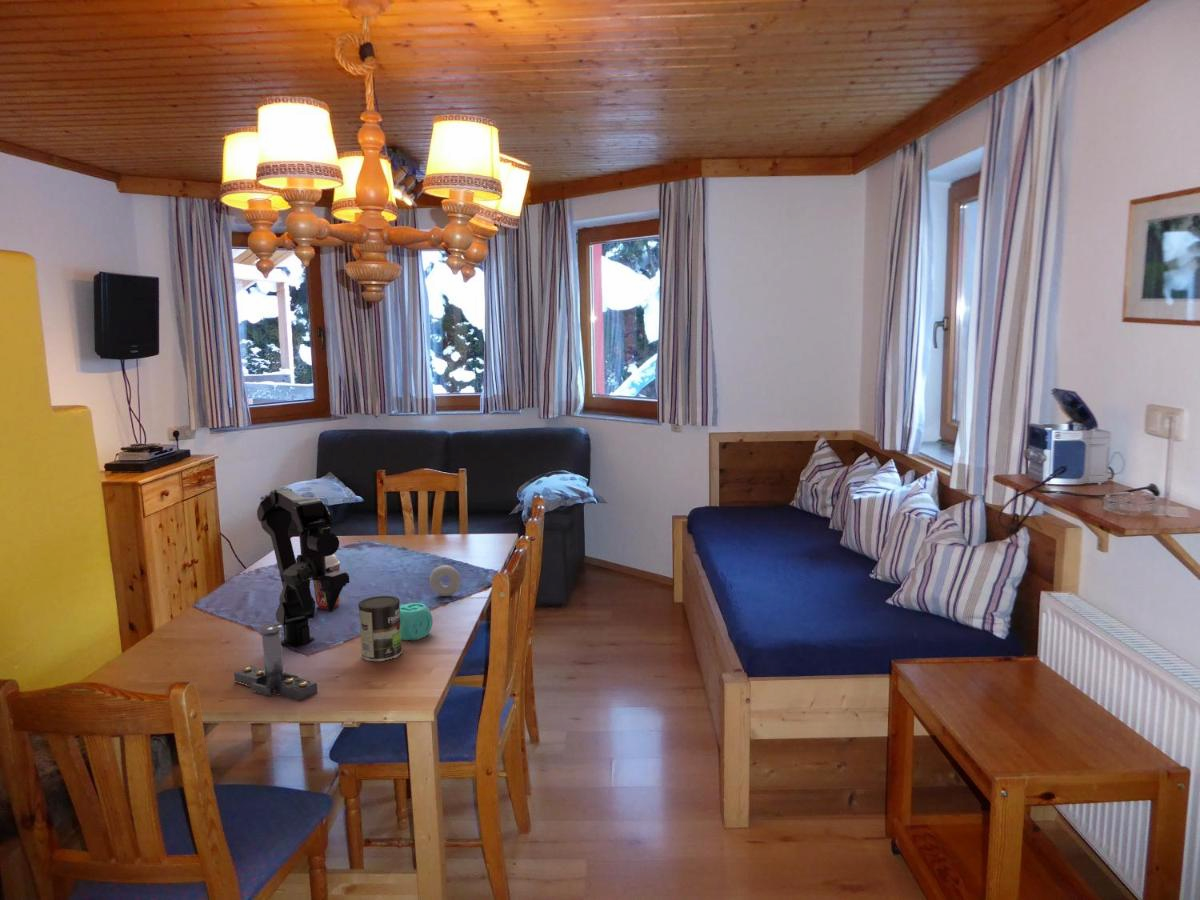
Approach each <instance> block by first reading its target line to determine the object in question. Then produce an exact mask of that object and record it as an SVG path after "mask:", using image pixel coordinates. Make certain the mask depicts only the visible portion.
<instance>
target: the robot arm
mask: <svg viewBox="0 0 1200 900" xmlns="http://www.w3.org/2000/svg"><path fill="white" fill-rule="evenodd" d="M256 516H257V517H256V518H257V519H258V521H259V522H260V525H261V528H262V529H263V530H264V532H266V533H267V534H268V536H270V538H271V542H272V546H273V551H274V555H275V559H276V563H277V568H278V572H279V576H280V580H281V585H282V590H281V592H280V594H279V604H278V607H277V609H276V612H275V617H276V618H275V619H276V622H278V624H280V625H281V626H282V629H283V638H284V639H281V645H286V646H289V647H293V648H297V647H300V646H302V645H305V644H307V643H309V642H311V641H314V640H315V638H314V637H313V636H311V632H310V625H309V620H311V619H314V618H315V613H316V612H315V610H316V600H315V598H314V597H313V596H312V592H311V588H310V585H311V581H313V580H315V581H321V585H322V586H323V588H321V590H323V591H324V592H325V594H326V601H327V608H328V609H327V612H328V613H332V612H333V611H334V609H335V608H336V607H335V604H336V601H337V599H338V597H339V594H341V592H342V590H343V587H346V586H347V584H349V583H351V582H350V574H349V573H347V572H346V571H335V572H332V573H329V574H326V573H327V572H330V568H329V567H326V561H325V557H326V556H330V555H333V554H336V553H337V551H338V549H339V547H340V540H339V537H338V536H337V535H336V534H335V533H332V532H331V527H333V526H334V525H333V518H332V515H331V514H330V511H329V509H328V507H327V506H326V504H325V503H324V501H323V500H321V499H320V498H306V497H303V496H302V495H300V494H298V493H296V492H294V491H293V489H292V488H289V487H283V488H277V489H274V490H271V491H270V493H269V495H268V496H267V497H265V498H264V499H263V500H261V501H260V502H259V504H258V507H257V509H256ZM293 521H294V523H295V525H296V527H297V528H296V530H297V531H298V535H299V546H300V547H299V548H300V554H298V555H296V556H297V557H296V556H295V552H294V548H293V544H292V539H291V536H290V531H289V530H290V527H291V525H292V522H293ZM334 607H335V608H334Z"/></svg>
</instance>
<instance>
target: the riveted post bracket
mask: <svg viewBox="0 0 1200 900" xmlns="http://www.w3.org/2000/svg"><path fill="white" fill-rule="evenodd" d="M283 674H284V681H282V682H279V683H277V684H275V686H276V691H275V694H276V695H277V694H279V695H278V696H281V695H282V696H281V697H284V696H285V698H289V699H291V700H296V701H298V702H301V701H303V700H305V699H307V698H309V697H312V696H313V695H315V694H318V683H317V682H315V681H312V680H308V679H304V678H300V677H299V676H297V675H295V674H290V673H286V672H283ZM233 676H234V677H233V678H234V682H235V681H237V682H241V683H244V684H247V685H250V686H251V687H250V688H251V691H252V690H253V691H256V692H260V693H262V694H261V695H263V694H266V695H269V696H268V697H270V696H271V697H273V696H274V691H273V688H271V687H268V686H266V685H265V684H266V678H265V668H262V667H259V666H255V665H252V664H251V665H248V666H244V667H243V668H242V669H240V670H237V671H234V672H233ZM253 691H252V692H253ZM256 692H255V693H256ZM260 693H259V694H260ZM266 695H265V696H266ZM272 695H273V696H272ZM311 695H312V696H311Z"/></svg>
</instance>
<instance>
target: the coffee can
mask: <svg viewBox="0 0 1200 900" xmlns="http://www.w3.org/2000/svg"><path fill="white" fill-rule="evenodd" d="M400 603H401V600H400V598H399V597H397V596H392V595H378V596H371V597H368V598H364V599H362V600H360V601H359V602H358V610H359V624H360V625H359V628H360V642H361V643H360V644H361V657H362V659H363V660H365V661H367V662H385V660H387V661H390V660H389V659H391V660H393V659H392V658H394V659H396V658H399V655H400V654H401V653H402V654H403V643H402V639H401V625H400V606H401V605H400ZM402 654H401V655H402ZM401 655H400V656H401Z"/></svg>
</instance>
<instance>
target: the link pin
mask: <svg viewBox="0 0 1200 900" xmlns="http://www.w3.org/2000/svg"><path fill="white" fill-rule="evenodd" d="M282 630H283V625H282V624H280V623H269V624H264V625H262V626H260V627H259V634H261V639H262V653H263V665H264V669H265V678H266V685H265V686H268V687H271V688H273V692H274V690H276V686H275V684H277V683H279V682H282V681H284V674H283V673H284V664H283V663H284V661H283V652H282V651H283V650H282V644H281V641H282V639H281V638H282V637H281V631H282Z"/></svg>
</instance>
